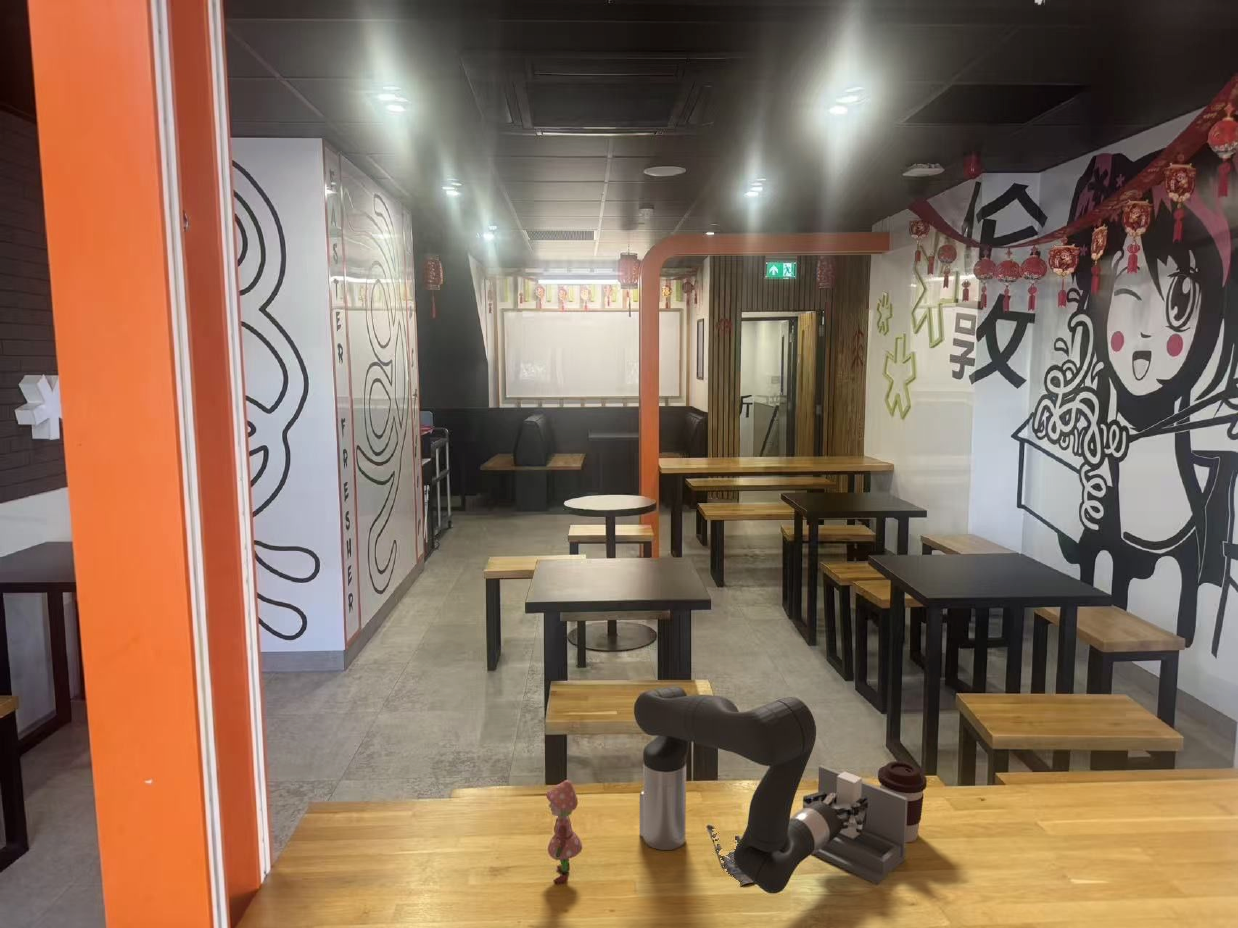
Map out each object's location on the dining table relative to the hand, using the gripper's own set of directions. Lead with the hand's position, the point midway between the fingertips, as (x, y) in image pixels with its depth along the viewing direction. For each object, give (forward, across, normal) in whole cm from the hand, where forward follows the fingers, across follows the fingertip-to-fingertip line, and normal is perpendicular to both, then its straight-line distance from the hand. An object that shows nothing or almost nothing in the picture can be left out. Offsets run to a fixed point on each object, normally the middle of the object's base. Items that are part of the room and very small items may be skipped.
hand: (855, 797), depth 165 cm
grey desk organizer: (-3, 0, +11) cm, 11 cm away
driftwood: (-21, +16, +12) cm, 29 cm away
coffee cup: (+11, -5, +11) cm, 17 cm away
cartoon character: (-51, +35, +11) cm, 63 cm away
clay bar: (-3, 0, +7) cm, 7 cm away
